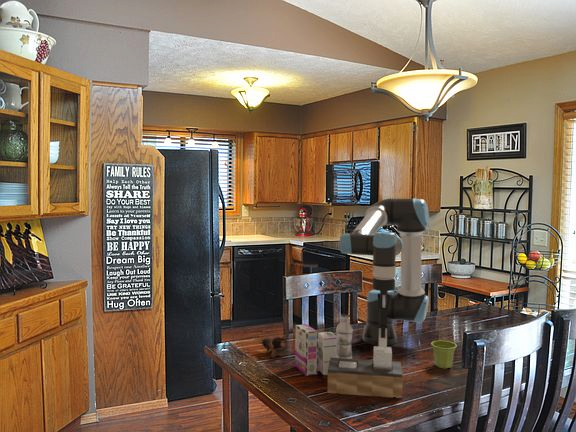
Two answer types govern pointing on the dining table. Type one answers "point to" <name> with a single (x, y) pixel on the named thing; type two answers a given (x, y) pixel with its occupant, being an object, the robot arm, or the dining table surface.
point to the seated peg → (347, 364)
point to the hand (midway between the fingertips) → (382, 346)
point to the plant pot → (443, 353)
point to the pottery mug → (275, 345)
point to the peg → (382, 358)
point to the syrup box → (326, 350)
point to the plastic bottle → (344, 337)
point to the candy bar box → (306, 349)
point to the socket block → (364, 379)
